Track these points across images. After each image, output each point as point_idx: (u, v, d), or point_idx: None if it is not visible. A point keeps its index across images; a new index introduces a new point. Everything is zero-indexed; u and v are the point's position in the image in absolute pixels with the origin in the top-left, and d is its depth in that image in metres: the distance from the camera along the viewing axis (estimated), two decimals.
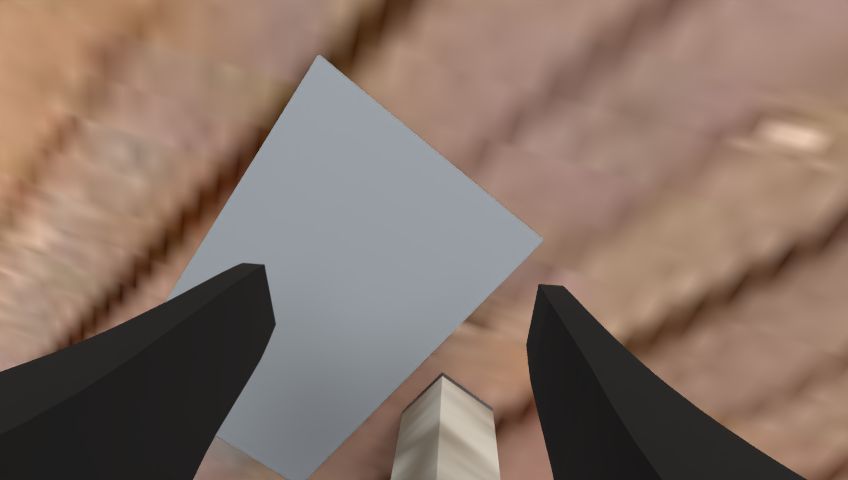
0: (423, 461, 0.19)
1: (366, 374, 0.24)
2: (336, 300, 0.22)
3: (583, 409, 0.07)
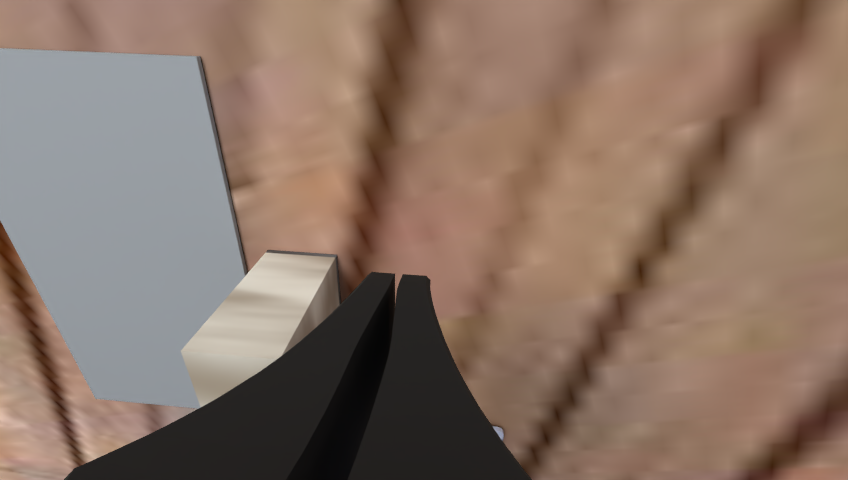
0: None
1: (216, 291, 0.24)
2: (134, 243, 0.23)
3: None
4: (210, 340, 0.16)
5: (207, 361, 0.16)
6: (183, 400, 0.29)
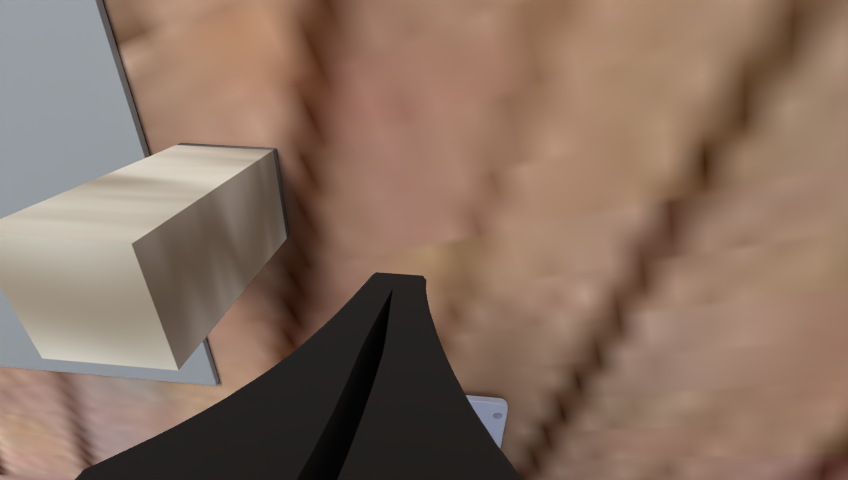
0: None
1: None
2: None
3: None
4: (29, 222, 0.10)
5: (16, 252, 0.09)
6: (98, 366, 0.23)
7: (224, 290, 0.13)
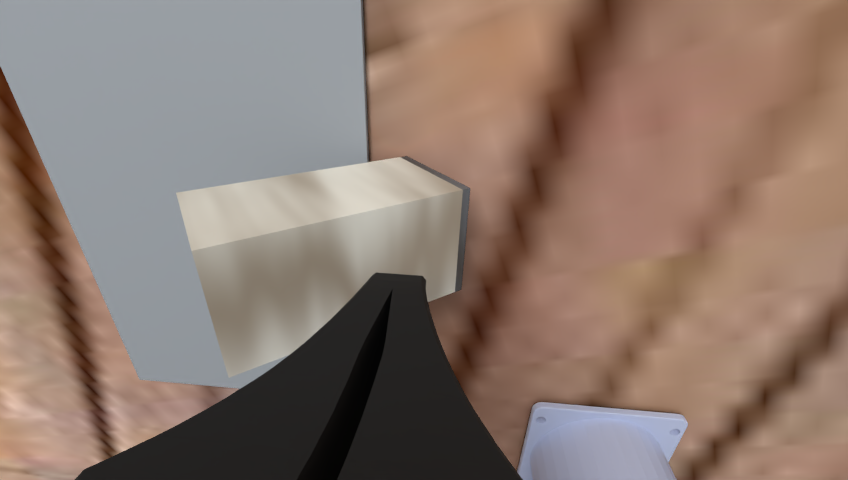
0: None
1: None
2: (213, 148, 0.16)
3: None
4: (204, 197, 0.12)
5: None
6: None
7: (321, 321, 0.12)
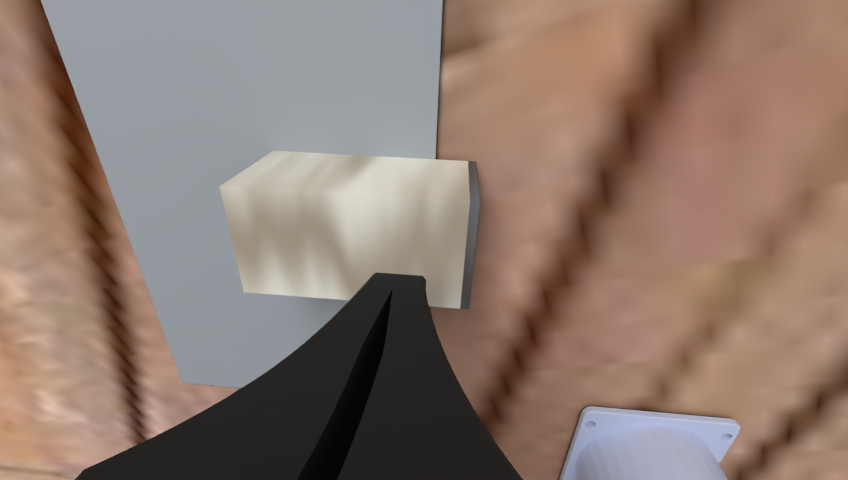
0: None
1: None
2: (278, 150, 0.16)
3: None
4: (281, 157, 0.15)
5: None
6: None
7: (315, 279, 0.14)
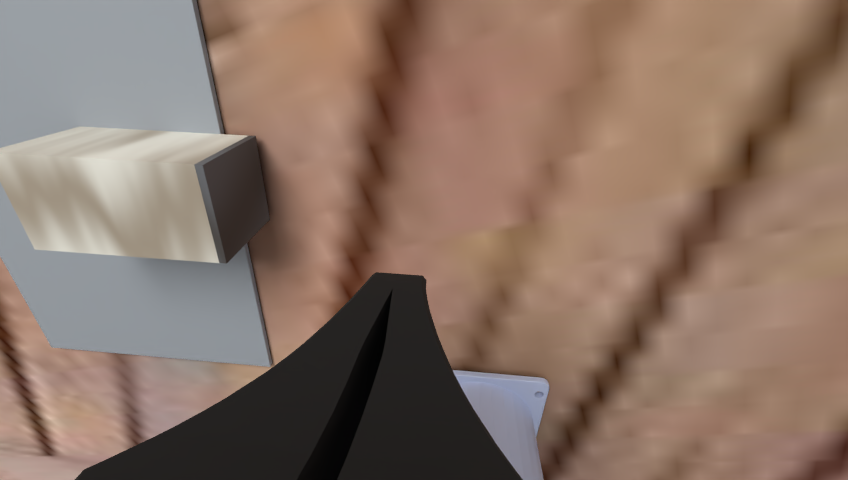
0: None
1: None
2: (83, 126, 0.18)
3: None
4: (78, 131, 0.17)
5: None
6: (157, 348, 0.24)
7: (91, 237, 0.15)
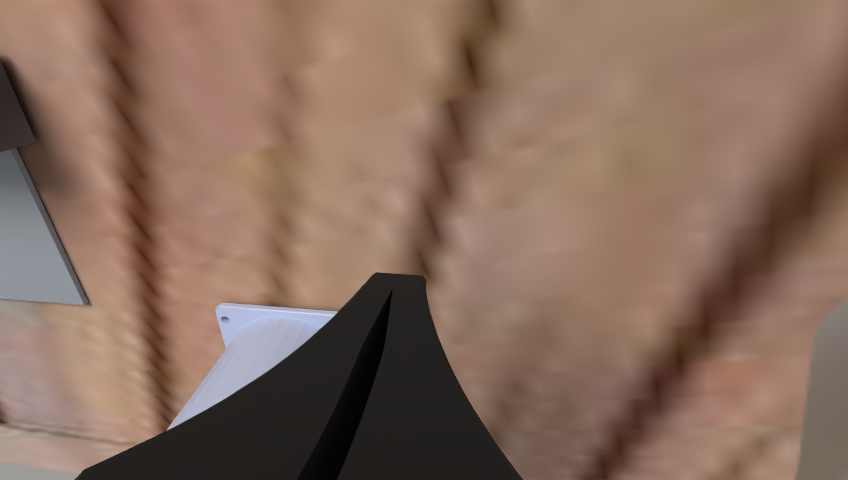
0: None
1: None
2: None
3: None
4: None
5: None
6: None
7: None
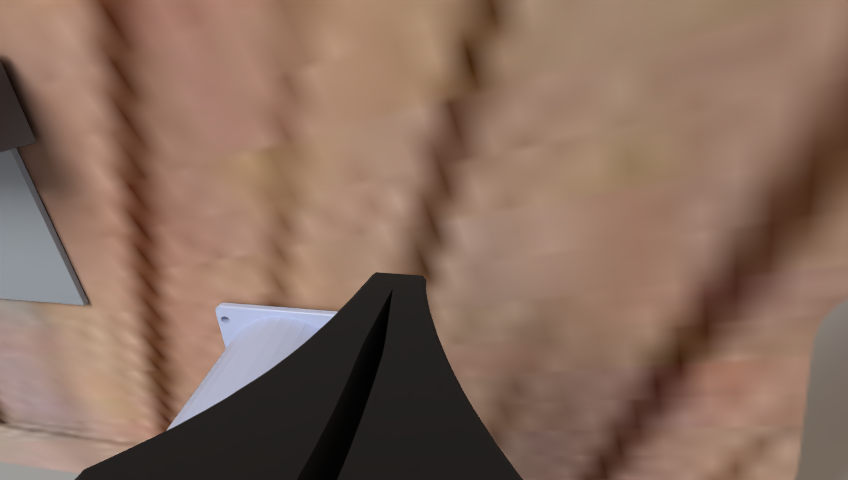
0: None
1: None
2: None
3: None
4: None
5: None
6: None
7: None
